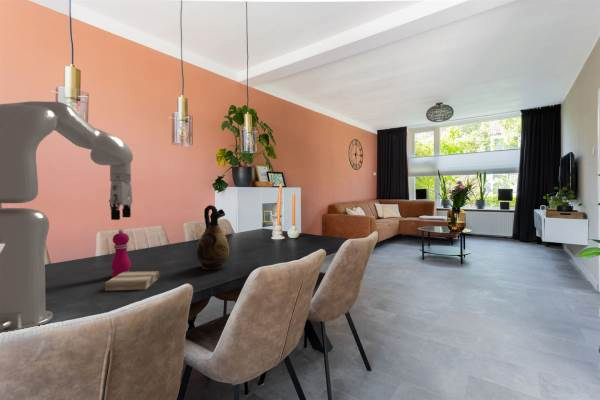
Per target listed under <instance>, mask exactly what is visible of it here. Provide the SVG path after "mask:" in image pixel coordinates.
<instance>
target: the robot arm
mask: <svg viewBox="0 0 600 400" xmlns="http://www.w3.org/2000/svg"><path fill="white" fill-rule="evenodd" d="M53 132H57V133H58V134H60V135H61V136H63V138H65V139H66V140H68V141H69V142H71V143H72V144H73V145H75V146H76V147H80V148H83V149H86V150H90V154H89V155H90V159H91V161H92V162H94V163H95V164H97V165H99V166H109V181H110V192H109V193H110V194H109V195H110V197H109V199H108V203H109V207H110V220H111V221H119V220H121V215H122V218H131V216H132V215H131V208H132V204H133V191H132V184H131V182H132V176H131V175H132V174H131V173H132V171H131V166H132V165H131V163H132V162H133V159H134V155H133V151H132V150H131V149H130V147H129V146H128V145H127V144H126V143H125V142H124V141H123V140H122V139H120V138H118V137H117V136H115V135H112V134H110V133H108V132H106V131H103V130H100V129H98V128H95V127H94V126H93V125H91V124H90V123H89V122H88V121H87V120H86V119H84V117H82V116H81V115H80V114H79V113H78V112H77V111H76V110H75V109H73V108H72V107H71V106H69V105H68V104H67V103H63V102H61V101H60V102H59V101H39V100H38V101H21V102H13V103H11V102H10V103H0V244H4V246H3V248H2V249H1V251H0V333H1V332H8V331H14V330H19V329H24V328H29V327H33V326H38V325H41V326H43V325H45V324H47V323H49V322H50V321H51V320H52V319H53V316H54V313H53V312H52V311H50V310H46V266H45V265H46V262H45V257H46V256H45V253H46V244H47V243H46V242H47V238H48V235H49V234H48V233H49V230H50V229H49V228H50V220H49V218H48V217H47V215H46V214H45V213H43V212H42V211H40V210H38V209H34V208H27V207H26V208H25V207H23V208H22V207H20V208H19V207H7V208H5V207H2V206H3V205H2V204H26V203H29V202H32V201H34V200H35V199H36V198H37V196H38V194H39V180H38V179H39V178H38V170H37V169H38V167H37V149H38V147H39V145H40V143H41V142H42V141H43V140H45V138H46V137H48V136H49V135H50V134H51V133H53ZM121 206H122V214H121V210H120V208H121Z"/></svg>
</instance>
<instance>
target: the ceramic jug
mask: <svg viewBox="0 0 600 400" xmlns="http://www.w3.org/2000/svg"><path fill="white" fill-rule="evenodd" d="M210 211H211V212H210ZM203 212H204V213H203V214H204V216H203V217H204V224H205V230H204V231H203V233H202V235H201V236H200V238H199V240H198V242H197V245H196V249H195V250H196V251H195V255H196V259H197V260H198V262H199V263H200V264H201V268H202V269H203V270H207V271H213V270H214V271H216V270H220V269H222V268H223V266H224V264H225V262H226V261H228V258H229V255H230V246H229V241H228V238H227V236H226V235H225V233H224V231H223V230H222V228H221V227H220V225H219V222H218V220H219V219H220V218H223V217H226V212H225V211H224V209H222V208H221V209H217V207H216V206H215V205H212V204H209V205H207V206H206V207H205V208H204V211H203ZM210 213H211V214H210Z"/></svg>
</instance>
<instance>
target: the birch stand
mask: <svg viewBox="0 0 600 400" xmlns="http://www.w3.org/2000/svg"><path fill="white" fill-rule="evenodd" d="M158 279H160V271H159V270H151V271H150V270H148V271H147V270H144V271H143V270H141V271H130V272H122V273H120V274H119V275H117V276H115V277H112V278H111V279H109V280H107V281H105V282H104V291H106V292H107V291H129V290H130V291H133V290H134V291H137V290H139V291H140V290H147V289H148V288H149V287H150V286H151V285H152V284H154V283H155V282H156V281H157V280H158Z"/></svg>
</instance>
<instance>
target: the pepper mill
mask: <svg viewBox="0 0 600 400" xmlns="http://www.w3.org/2000/svg"><path fill="white" fill-rule="evenodd" d="M129 241H130V237H129V235H128V234H127V233H124V230H123V229H119V230H118V233H116V234H114V235H113V237H112V243H113V244H114V245H113V246H114V247H113V248H114V250H115V252H114V257H113V259H112V262H111V265H110V267H111V268H110V269H111V270H112V271H113V272H112V278H114V277H115V276H117V275H119V274H120V273H122V272H131V271H130V268H131V266H132V263H131V259H130V258H129V255H128V251H127V249H128V247H129V244H128V243H129Z"/></svg>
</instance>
